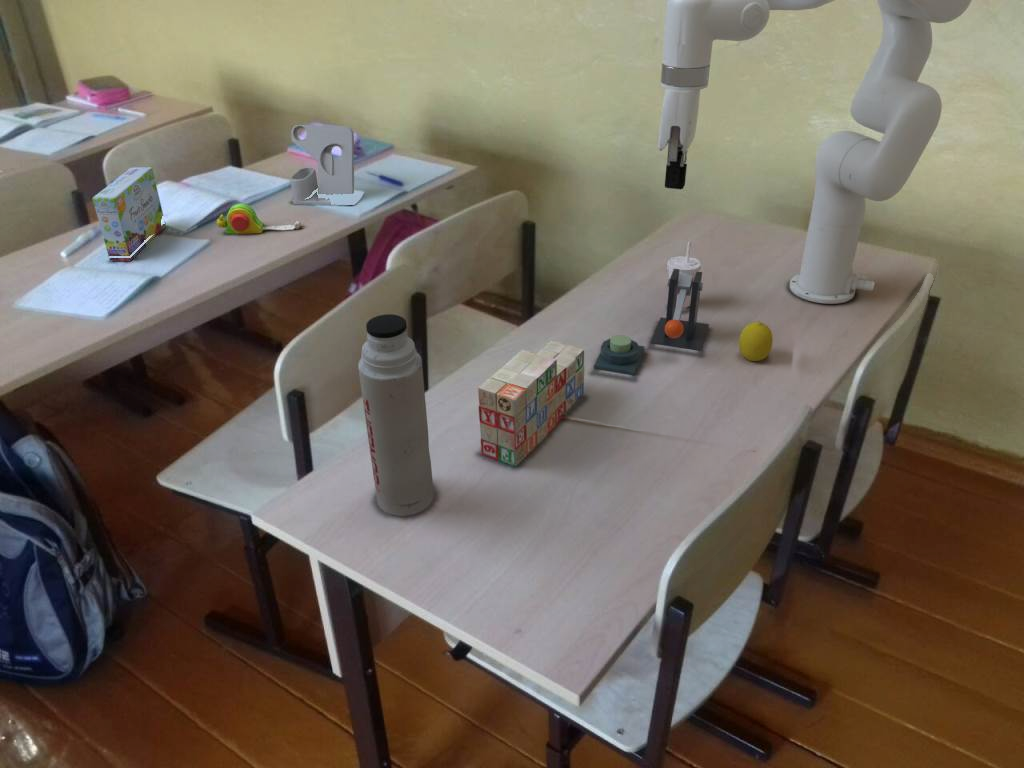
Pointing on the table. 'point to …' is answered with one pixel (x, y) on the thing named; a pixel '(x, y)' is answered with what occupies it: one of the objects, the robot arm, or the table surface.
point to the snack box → (129, 212)
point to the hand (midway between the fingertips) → (674, 186)
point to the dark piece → (619, 359)
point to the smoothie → (684, 269)
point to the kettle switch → (679, 306)
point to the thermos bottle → (396, 417)
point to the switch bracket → (692, 329)
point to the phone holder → (324, 163)
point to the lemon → (755, 341)
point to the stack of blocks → (528, 400)
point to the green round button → (620, 344)
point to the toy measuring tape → (247, 221)
